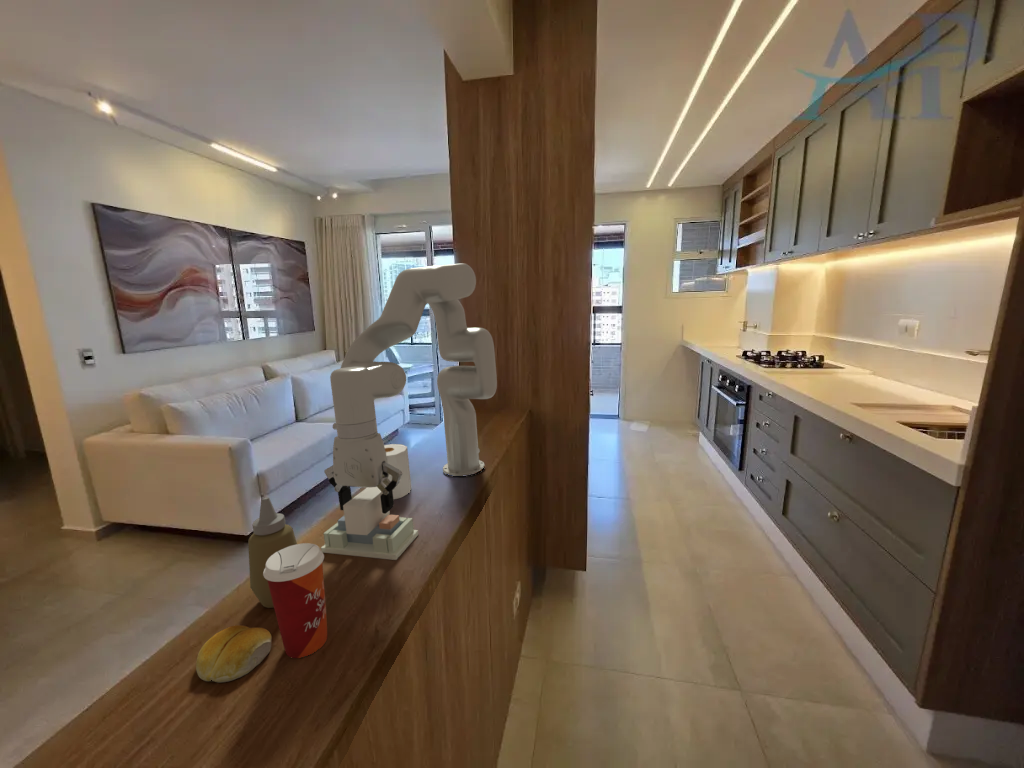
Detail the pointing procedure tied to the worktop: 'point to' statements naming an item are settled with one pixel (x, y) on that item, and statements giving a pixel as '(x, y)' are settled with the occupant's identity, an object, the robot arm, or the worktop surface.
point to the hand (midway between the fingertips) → (367, 508)
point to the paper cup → (298, 597)
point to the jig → (381, 545)
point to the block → (364, 512)
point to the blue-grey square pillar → (383, 527)
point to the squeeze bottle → (266, 547)
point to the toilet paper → (399, 460)
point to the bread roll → (232, 653)
